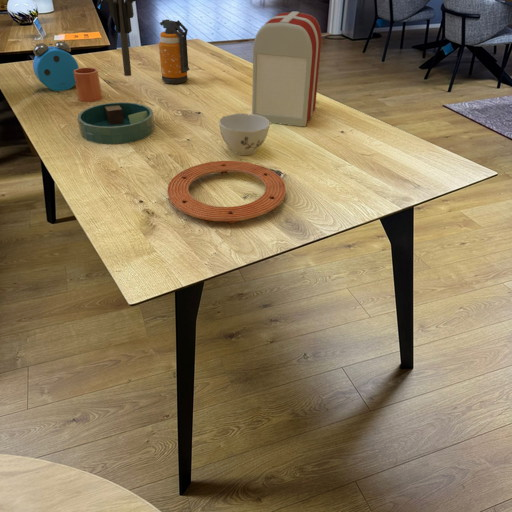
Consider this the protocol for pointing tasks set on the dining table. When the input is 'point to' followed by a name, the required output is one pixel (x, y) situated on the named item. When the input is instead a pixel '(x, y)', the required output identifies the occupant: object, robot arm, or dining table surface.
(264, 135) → the teacup
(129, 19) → the robot arm
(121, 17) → the stick
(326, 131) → the dining table surface
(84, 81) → the holder
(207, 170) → the ring
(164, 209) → the dining table surface
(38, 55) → the alarm clock
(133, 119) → the sage block
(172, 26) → the canister
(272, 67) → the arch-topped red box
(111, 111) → the walnut block
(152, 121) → the bowl
